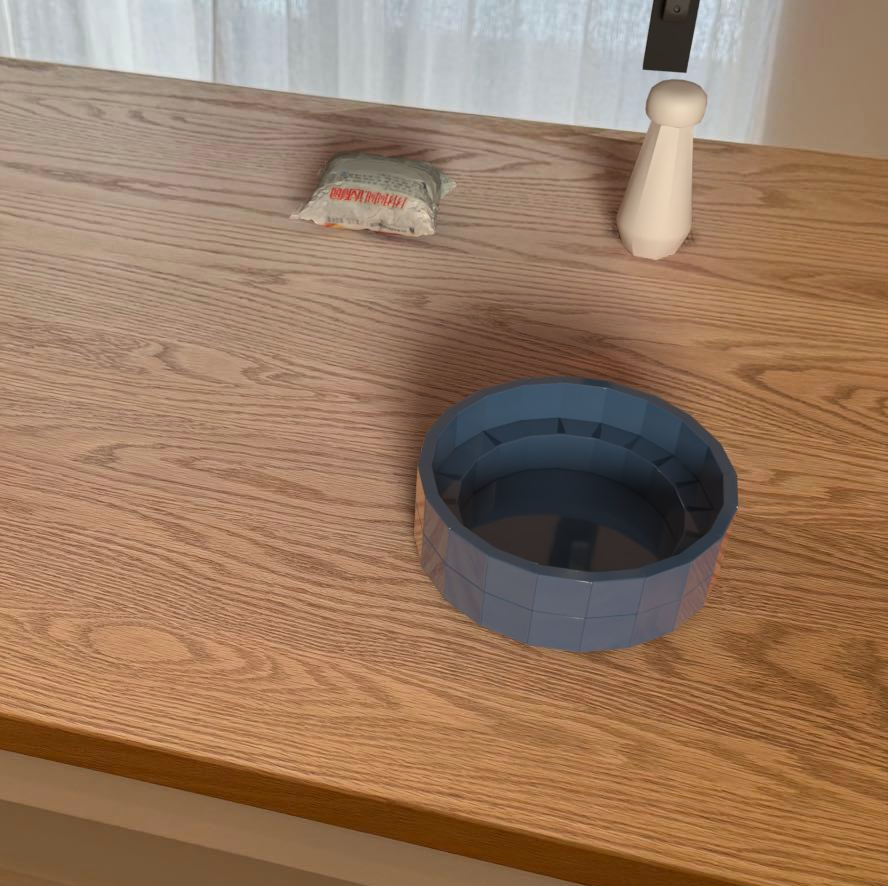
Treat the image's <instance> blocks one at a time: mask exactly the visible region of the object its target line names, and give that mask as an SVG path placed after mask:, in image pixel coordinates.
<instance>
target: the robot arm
mask: <svg viewBox="0 0 888 886" xmlns="http://www.w3.org/2000/svg"><path fill="white" fill-rule="evenodd" d="M700 2H701V0H652V5H651V12H650V17H649V24H648V31H647V36H646V43H645V48H644V55H643V59H642V60H643V61H642V71H654V72H666V73H679V74H681V73H682V74H687V72H688V67H689V63H690V56H691V51H692V47H693V41H694V36H695V35H694V34H695V30H696V24H697V20H698V19H697V18H698V14H699V9H700Z"/></svg>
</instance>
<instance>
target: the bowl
mask: <svg viewBox="0 0 888 886" xmlns="http://www.w3.org/2000/svg"><path fill="white" fill-rule="evenodd" d="M416 466H417V467H416V483H415V484H416V486H415V501H414V504H415V505H414V523H413V537H414V541H415V545H416V546H415V547H416V550H417V555H418V560H419V564H420V567H421V569H422V570H423V571H424V573H425V574H426V576H427V577H428V578H429V580H430V582H431V583H432V584H433V585H434V587H435V589H436V590H437V591H438V593H439V594H440V595H441V597H442V598H443V600H444V601H446V602H447V603H448V604H450V605H451V606H452V607H453V608H455V609H456V610H458V611H459V612H460V613H462V614H463V615H464V616H466V617H467V618H468V619H470V620H471V621H472V622H474V623H475V624H477V626H479V627H481V628H484V629H487V630H489V631H491V632H494V633H497V634H500V635H501V636H504V637H507V638H508V639H512V640H514V641H517V642H519V643H520V644H521V643H522V644H523V645H528V646H532V647H539V648H545V649H553V650H560V651H566V652H572V653H589V652H601V651H603V652H604V651H613V650H624V649H626V650H627V649H631V648H634V647H637V646H639V645H642V644H645V643H647V642H651V641H653V640H656V639H658V638H662V637H664V636H667V635H670V634H672V633H674V632H675V631H676V630H677V629H679V628H681V626H683V624H685V623H686V622H687V621H689V620H690V619H691V618H692V617H694V615H696V614H697V613H698V612H699V611H700V610H702V609H703V608H704V606H705V604H706V602H707V600H708V599H709V596H710V595H711V592H712V591H713V588H714V586H715V584H716V583H717V580H718V579H719V575H720V572H721V568H722V565H723V562H724V558H725V555H726V552H727V548H728V544H729V541H730V537H731V535H732V531H733V527H734V524H735V520H736V516H737V513H738V510H739V484H738V483H739V480H738V478H739V477H738V473H737V471H736V469H735V468H734V466H733V463H732V462H731V460H730V458H729V456H728V454H727V452H726V450H725V448H724V446H723V445H722V443H721V442H720V441H719V440H718V439H717V438H716V437H715V436H714V435H713V434H711V432H710V431H708V430H707V429H706V428H705V427H704V425H702V424H701V423H700V422H699V421H698V420H696V418H695V417H694V416H692V415H691V414H690V413H688V412H687V411H684V410H683V409H681V408H680V407H677V406H676V405H673V404H672V403H670V402H668V401H666V400H665V399H663V398H661V397H659V396H657V395H655V394H653V393H650V392H646V391H643V390H641V389H637V388H633V387H631V386H626V385H624V384H621V383H619V382H618V383H617V382H615V381H610V380H607V379H606V380H605V379H596V378H589V377H582V376H581V377H580V376H571V375H552V376H537V377H520V378H515V379H512V380H509V381H506V382H501V383H499V384H495V385H491V386H488V387H484V388H481V389H478V390H476V391H474V392H472V393H471V394H469V395H467V396H466V397H465V398H463V399H460V400H459V401H457V402H456V403H454V404H453V405H451V406H449V407H447V408H446V409H445V410H444V411H443V412H442V414H441V415H440V416H439V417H438V418H437V420H436V421H435V422H434V423H433V424H432V426H431V427H430V428H429V429H428V431H427V432H425V434H424V437H423V442H422V445H421V449H420V452H419V458H418V461H417V465H416Z"/></svg>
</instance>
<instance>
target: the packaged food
mask: <svg viewBox="0 0 888 886" xmlns="http://www.w3.org/2000/svg"><path fill="white" fill-rule="evenodd" d="M316 175H317V176H316V178H317V179H316V181H319V182H318V184H317V186H316V187H315V189H314V191H313V193H312V195H311V196H309V197H308V198H307V199H305V200H304V201H303V202H302V203H301V204H299V205H298V206H297V207H296V208H295V209H294V210H292V211H291V213H290V215H289V218H288V219H291V220H298V219H301V220H306V221H311V220H312V221H313V222H314V224H316V225H318V226H321V227H323V228H331V229H340V230H341V229H343V230H354V231H371V232H373V233H375V234H379V235H393V236H405V237H414V238H418V237H420V236H423V235H424V236H429V235H430V236H434V235H435V234H436V232H437V228H438V219H437V218H438V215H437V213H440V214H442V211H441V208H440V202H441V200H442V199H444V198H445V197H446V195H447V194H448V193H451V192H452V190H453V189H457V185H458V183H457V182H456V181H455V180H454V179H453V178H452V177H450V176H449V175H448V174H446V173H445V171H443V170H442V169H441V168H439V167H437V166H436V165H434V164H433V163H431V162H430V161H427V160H421V159H412V158H407V157H398V156H384V155H382V154H375V153H368V152H361V151H358V150H357V151H356V150H348V151H347V150H346V151H339V152H336V153H334V154H333V155H332V156H331V157H329V159H328V160H327V161H324V166H323V167H322V168H321V167H320V168H319V170H318V172H316Z"/></svg>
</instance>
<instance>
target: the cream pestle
mask: <svg viewBox="0 0 888 886" xmlns="http://www.w3.org/2000/svg"><path fill="white" fill-rule="evenodd" d="M707 106H708V95H707V92H706V91H705V90H704V88H702V86H701V85H699V84H698V83H696V82H694V81H690V80H686V79H678V78H671V79H665V80H661V81H659V82H657V83H656V84H654V85H653V86H651V88H650V90H649V92H648V95H647V98H646V99H645V109H644V110H645V114H646V116H647V117H648V119H649V120H650V123H649V126H648V128H647V131H646V133H645V137H644V138H643V141H642V144H641V147H640V151H639V153H638V155H637V158H636V161H635V164H634V166H633V169H632V173H631V175H630V178H629V179H628V180H629V181H628V183H627V186H626V189H625V191H624V194H623V197H622V199H621V202H620V205H619V208H618V211H617V213H616V216H615V217H616V221H615V222H616V226H617V229H618V232H619V236H620V240H621V243H622V245H623V246H624V248H625V249H626V250H627V251H628V252H629V253H630V254H631V255H632V256H633V257H637V258H644V259H648V260H654V261H659V260H661V259H663V258H667V257H670V256H672V255H674V254H675V253H676V252H677V251H678V249H679V248H680V247H681V246H682V244H683V243H684V241H685V240H686V239H687V237H688V236H689V233H690V231H691V229H692V228H691V227H692V224H693V221H694V217H693V216H694V214H693V213H694V207H693V206H694V196H693V195H694V193H693V192H694V126H696V125H698V124H700V123H701V122H702V120H703V119H704V117H705V113H706V109H707ZM669 255H670V256H669Z"/></svg>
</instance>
